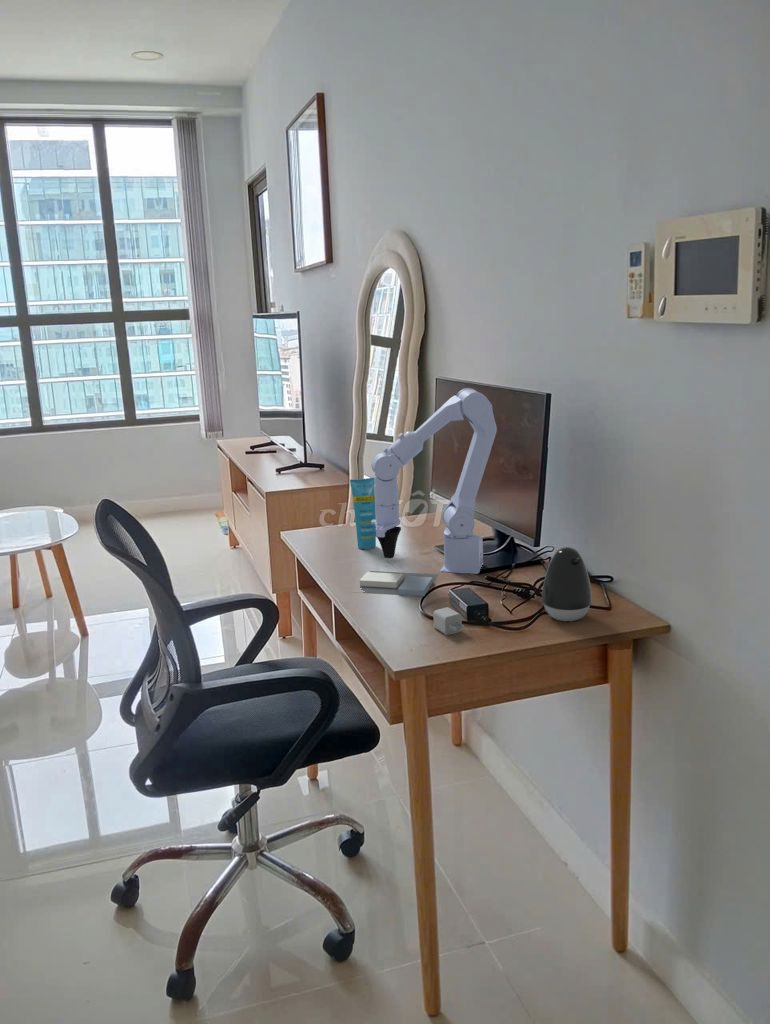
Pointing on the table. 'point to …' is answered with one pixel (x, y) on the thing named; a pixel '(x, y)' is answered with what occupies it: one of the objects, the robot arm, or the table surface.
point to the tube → (364, 511)
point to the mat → (393, 590)
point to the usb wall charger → (447, 621)
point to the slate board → (415, 586)
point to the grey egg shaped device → (567, 586)
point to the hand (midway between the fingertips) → (389, 557)
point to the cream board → (381, 579)
